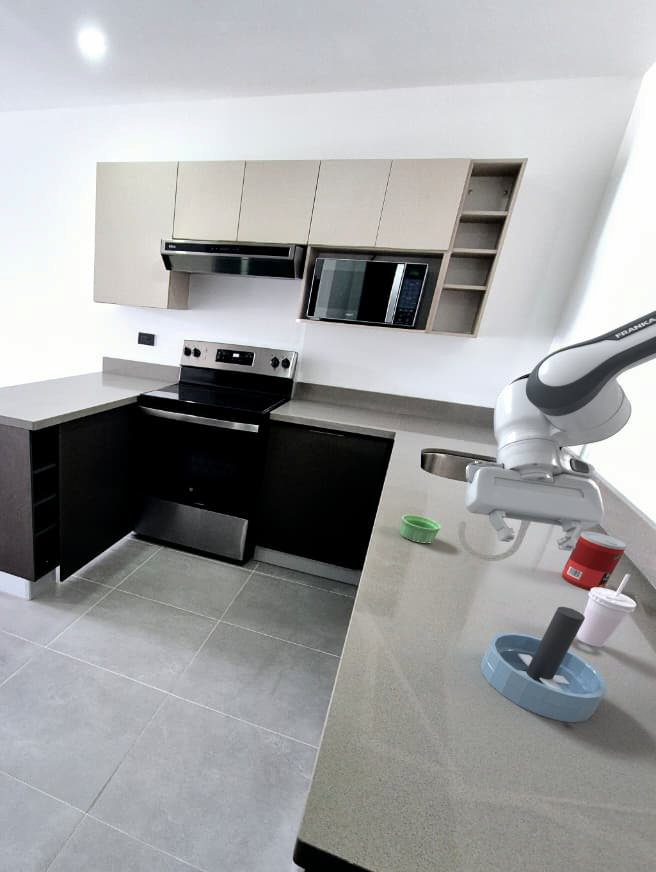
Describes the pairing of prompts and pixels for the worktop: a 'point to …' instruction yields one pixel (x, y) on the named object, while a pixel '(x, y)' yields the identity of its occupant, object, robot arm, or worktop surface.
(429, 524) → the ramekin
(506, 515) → the robot arm
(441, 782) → the worktop surface
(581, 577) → the canned food
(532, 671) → the black cylinder
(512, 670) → the shallow blue bowl
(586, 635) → the smoothie
